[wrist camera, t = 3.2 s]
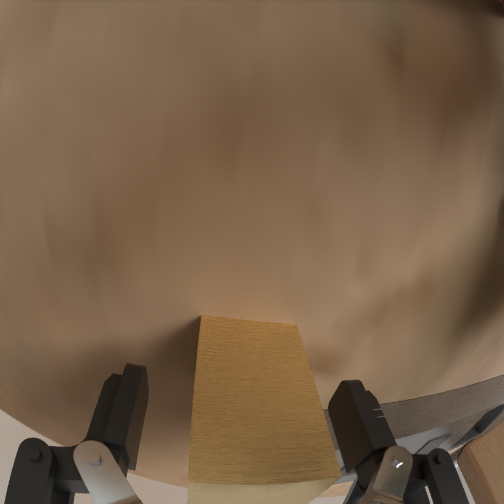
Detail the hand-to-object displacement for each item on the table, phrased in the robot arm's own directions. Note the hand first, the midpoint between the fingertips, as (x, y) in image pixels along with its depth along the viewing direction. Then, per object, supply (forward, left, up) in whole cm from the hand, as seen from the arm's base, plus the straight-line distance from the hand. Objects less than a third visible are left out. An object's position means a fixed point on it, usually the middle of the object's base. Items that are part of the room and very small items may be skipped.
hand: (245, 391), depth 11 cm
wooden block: (+23, +44, -2) cm, 50 cm away
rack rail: (+8, +19, -2) cm, 21 cm away
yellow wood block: (0, 0, -2) cm, 2 cm away
